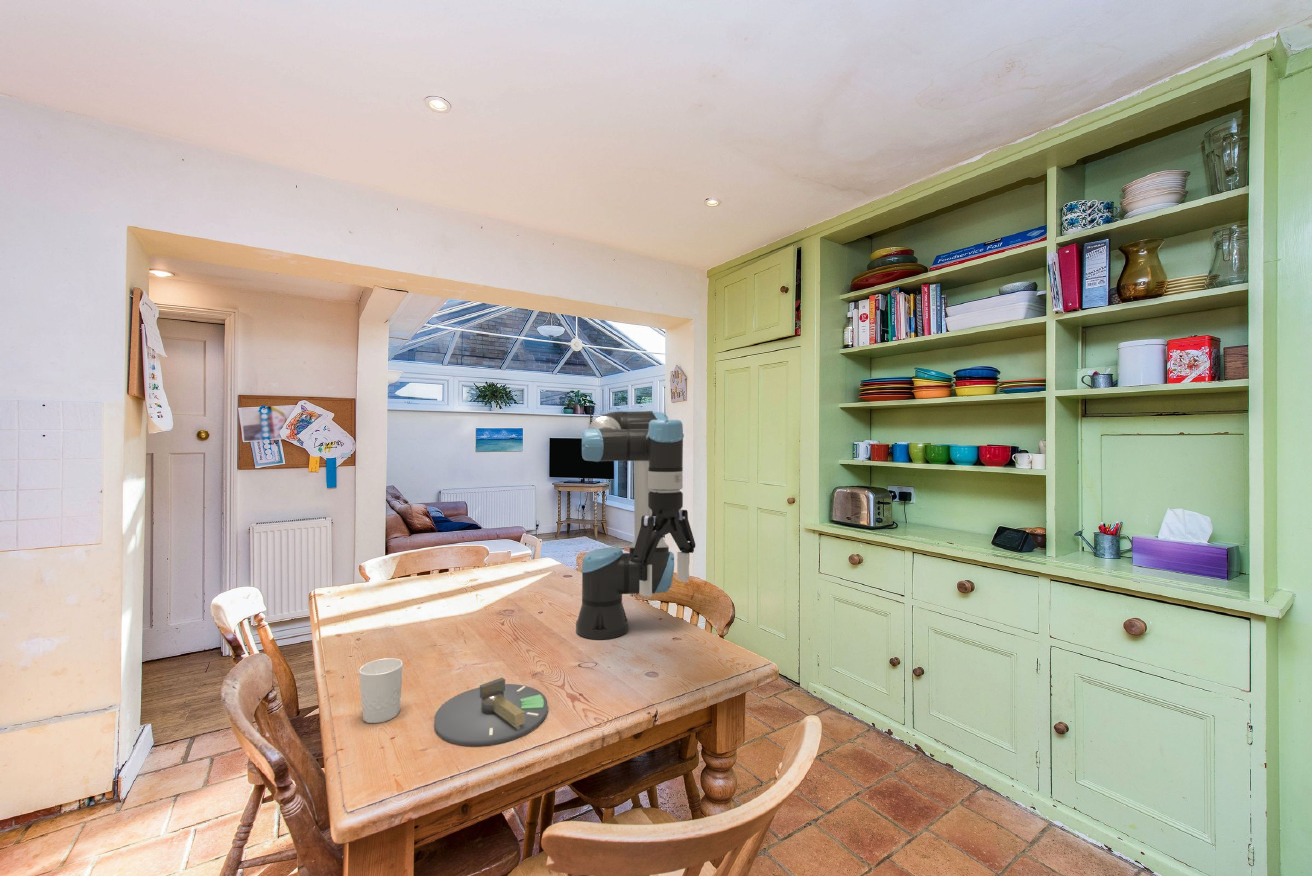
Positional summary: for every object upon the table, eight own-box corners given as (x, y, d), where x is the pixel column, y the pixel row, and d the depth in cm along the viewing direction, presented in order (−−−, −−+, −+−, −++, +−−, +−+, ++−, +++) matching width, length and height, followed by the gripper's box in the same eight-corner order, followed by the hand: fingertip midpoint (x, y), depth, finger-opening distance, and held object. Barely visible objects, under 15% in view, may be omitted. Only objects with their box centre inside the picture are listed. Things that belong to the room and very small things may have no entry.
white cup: (369, 705, 114) (369, 658, 114) (408, 704, 115) (408, 657, 114) (352, 726, 106) (351, 675, 106) (393, 724, 107) (393, 674, 107)
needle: (475, 708, 110) (475, 682, 110) (498, 699, 114) (498, 675, 114) (508, 732, 101) (508, 705, 101) (531, 722, 105) (531, 696, 105)
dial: (416, 714, 110) (416, 707, 110) (512, 680, 126) (512, 673, 126) (465, 761, 95) (465, 753, 95) (568, 715, 110) (568, 708, 110)
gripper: (642, 497, 105) (642, 605, 106) (710, 487, 125) (710, 578, 125) (614, 494, 110) (613, 598, 110) (683, 485, 130) (683, 573, 130)
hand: (665, 588), depth 118 cm, fingers open, 13 cm apart
